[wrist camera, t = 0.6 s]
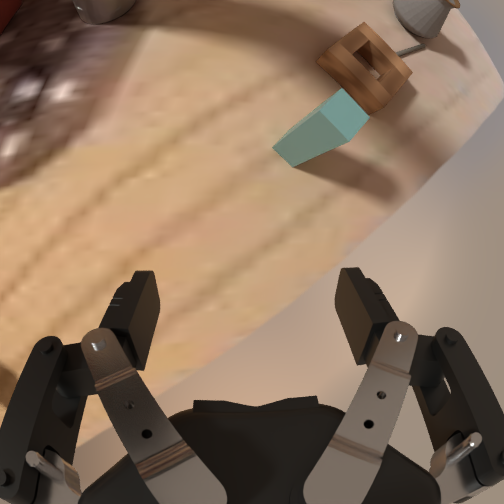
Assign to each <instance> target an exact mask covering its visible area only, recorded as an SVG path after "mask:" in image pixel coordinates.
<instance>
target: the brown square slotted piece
mask: <svg viewBox="0 0 504 504" xmlns="http://www.w3.org/2000/svg"><path fill="white" fill-rule="evenodd" d="M355 51H357V52H358V53H359V54H360V55H361V56H362V57H363V58H364V59H365V60H366V61H367V62H368V63H369V64H370V65H371V66H372V67H373V68H374V69H375V70H376V71H377V72H378V73H379V74H380V75H381V76H380V77H379V78H378V79H377V80H376V79H375V78H374V77H373V75H372V74H371V73H370V72H369V71H368V70H367V69H366V68H365V67H364V66H363V65H362V64H361V63H360V62H359V61H358V60H357V59H356V58H355V57H354V56H353V55H352V54H353V53H354V52H355ZM316 62H317V63H318V64H319V65H320V66H321V67H322V68H323V69H324V70H325V71H326V72H327V73H329V74H330V75H331V76H332V77H333V78H334V79H335V80H336V81H337V82H338V83H339V84H340V85H341V86H342V87H343V88H344V89H345V90H346V91H347V92H348V93H349V94H350V95H351V96H352V97H353V98H354V99H355V100H356V102H357V103H358V104H359V105H360V106H361V107H362V108H363V109H364V110H365V111H366V112H367V113H368V115H369V114H371V113H373V112H375V111H377V110H379V109H381V108H383V107H385V106H386V104H387V103H388V102H389V101H390V100H391V98H392V97H393V96H394V95H395V93H396V92H397V91H398V90H399V89H400V87H401V86H402V85H403V84H404V83H405V81H406V80H407V79H408V78H409V76H410V75H411V74H412V73H413V72H412V71H411V70H410V69H409V68H408V66H407V65H406V64H405V63H404V62H403V61H402V60H401V58H400V57H399V56H398V55H397V54H396V53H395V52H394V51H393V50H392V49H391V48H390V47H389V46H388V45H387V44H386V42H385V41H384V40H383V39H382V38H381V37H380V36H379V35H378V34H377V33H375V32H374V31H373V30H372V29H371V28H370V27H369V26H368V25H367V24H366V23H365V22H363V23H362V24H360V25H359V26H358V27H356V28H355V29H353V30H352V31H351V32H349V33H348V34H347V35H345V36H344V37H343V38H341V39H340V40H339V41H337V42H336V43H335V44H334V45H332V46H331V47H330V48H328V49H327V50H326V51H325V52H324V53H323V55H322V56H321V57H320V58H319V59H318V60H317V61H316Z"/></svg>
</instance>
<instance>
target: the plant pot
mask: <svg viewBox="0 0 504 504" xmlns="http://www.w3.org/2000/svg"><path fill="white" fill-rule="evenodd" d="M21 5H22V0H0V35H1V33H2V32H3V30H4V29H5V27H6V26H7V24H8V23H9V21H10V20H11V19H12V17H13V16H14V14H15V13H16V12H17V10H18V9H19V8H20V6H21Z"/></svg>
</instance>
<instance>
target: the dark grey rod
mask: <svg viewBox="0 0 504 504" xmlns="http://www.w3.org/2000/svg"><path fill="white" fill-rule="evenodd" d="M424 47H426V46H425V44H421V45H418V46H414V47H411V48H408V49H405V50H402V51H399V52H396V54H397V55H398V56H401V55H404V54H407V53H409V52H412V51H415V50H418V49H421V48H424Z"/></svg>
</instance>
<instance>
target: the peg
mask: <svg viewBox="0 0 504 504" xmlns="http://www.w3.org/2000/svg"><path fill="white" fill-rule="evenodd" d="M369 118H370V117H369V116H368V115H367V114H366V113H365V112H364V110H363V109H362V108H361V107H360V106H359V105H358V104H357V103H356V102H355V101H354V100H353V99H352V98H351V97H350V96H349V95H348V94H347V93H346V92H345V90H344V89H343V88H341V89H340V90H339V91H337V92H336V93H335V94H333V95H332V96H331V97H329V98H328V99H327V100H326V101H324V102H323V103H322V104H320V105H319V106H318V107H317V108H315V109H314V110H313V111H312V112H310V113H309V114H308V115H307V116H305V117H304V118H303V119H302V120H300V121H299V122H298V123H297V124H296V125H294V126H293V127H292V128H291V129H290V130H289V131H288V132H287V133H286V134H285V135H284V136H283V137H282V138H281V139H280V140H279V141H278V142H277V143H276V144H275V145H274V146H273V147H272V148H273V149H274V150H275V151H276V152H277V153H278V154H279V155H280V156H281V157H282V158H283V159H285V160H286V161H287V162H288V163H289V164H290V165H291V166H292V167H294V166H297V165H299V164H301V163H303V162H305V161H307V160H309V159H312V158H314V157H316V156H318V155H320V154H323V153H325V152H327V151H329V150H332V149H334V148H336V147H338V146H341V145H343V144H345V143H347V142H349V141H350V140H351V139H352V138H353V137H354V136H355V134H356V133H357V132H358V131H359V130H360V128H361V127H362V126H363V125H364V124H365V123H366V121H367V120H368V119H369Z"/></svg>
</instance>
